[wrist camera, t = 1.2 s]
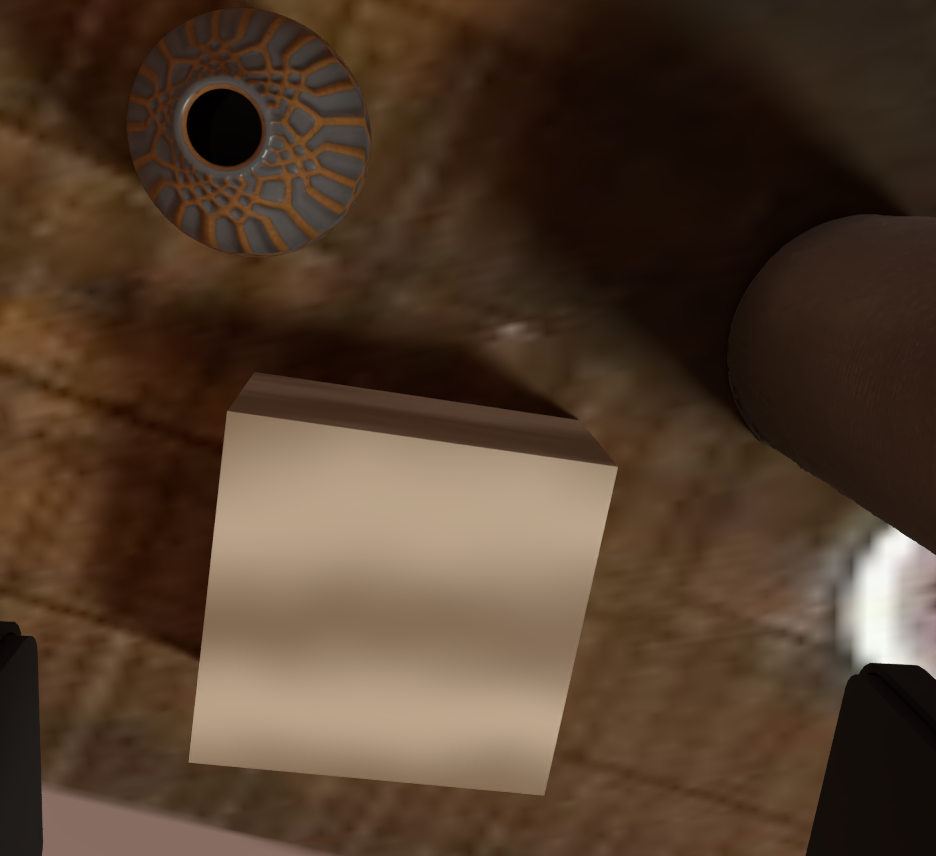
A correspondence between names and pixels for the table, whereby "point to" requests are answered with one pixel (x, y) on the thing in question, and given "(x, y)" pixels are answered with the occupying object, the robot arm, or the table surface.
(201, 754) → the maple block
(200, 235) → the vase
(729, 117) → the table surface
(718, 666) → the table surface
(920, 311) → the pillar candle
